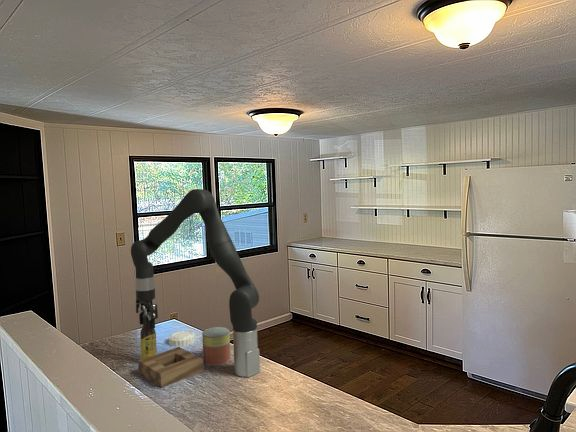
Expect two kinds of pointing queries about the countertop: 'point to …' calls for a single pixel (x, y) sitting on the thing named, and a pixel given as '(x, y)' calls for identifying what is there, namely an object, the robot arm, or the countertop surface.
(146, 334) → the sauce bottle
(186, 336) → the cream scalloped thick disc
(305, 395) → the countertop surface
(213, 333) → the canned food
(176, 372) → the square wooden frame
